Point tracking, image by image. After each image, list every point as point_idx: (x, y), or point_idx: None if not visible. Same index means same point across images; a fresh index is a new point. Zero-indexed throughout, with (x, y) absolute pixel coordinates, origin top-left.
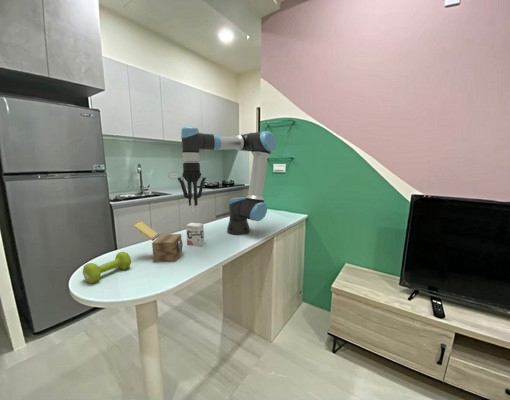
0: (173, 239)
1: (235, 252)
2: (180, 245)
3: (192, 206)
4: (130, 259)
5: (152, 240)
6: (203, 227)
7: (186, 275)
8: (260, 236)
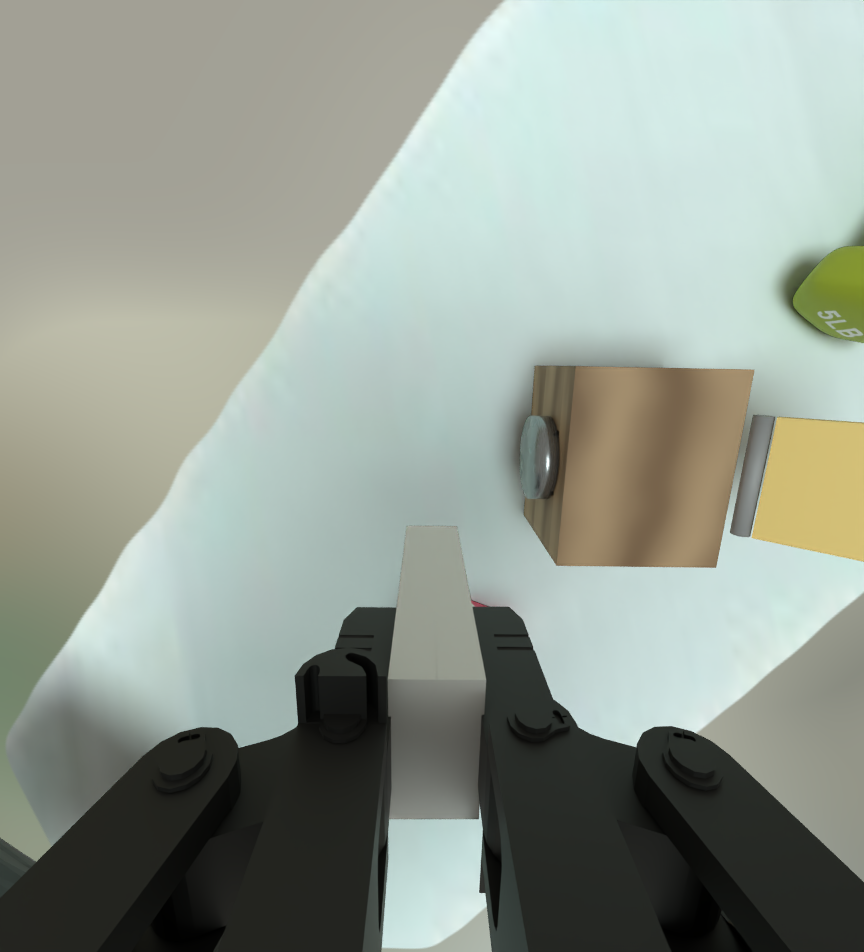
0: (596, 438)
1: (184, 478)
2: (531, 442)
3: (439, 575)
4: (825, 281)
5: (761, 415)
6: None
7: (433, 168)
8: (51, 723)
